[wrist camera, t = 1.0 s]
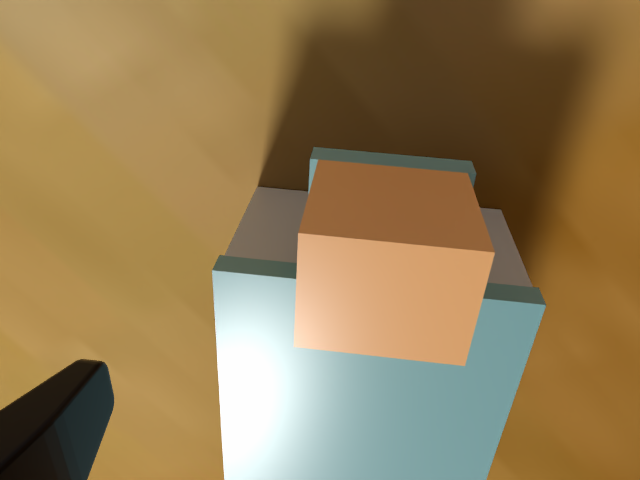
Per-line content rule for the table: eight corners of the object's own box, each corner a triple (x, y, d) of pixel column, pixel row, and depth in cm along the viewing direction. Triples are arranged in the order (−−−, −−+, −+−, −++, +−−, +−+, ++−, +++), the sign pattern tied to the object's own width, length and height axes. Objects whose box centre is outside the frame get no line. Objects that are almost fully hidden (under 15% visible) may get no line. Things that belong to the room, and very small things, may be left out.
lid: (577, 170, 13) (654, 268, 10) (448, 561, 22) (462, 690, 19) (213, 137, 14) (150, 218, 10) (233, 533, 23) (203, 652, 19)
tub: (500, 209, 19) (534, 290, 15) (436, 457, 27) (446, 560, 22) (257, 186, 20) (223, 258, 16) (258, 436, 27) (235, 532, 23)
